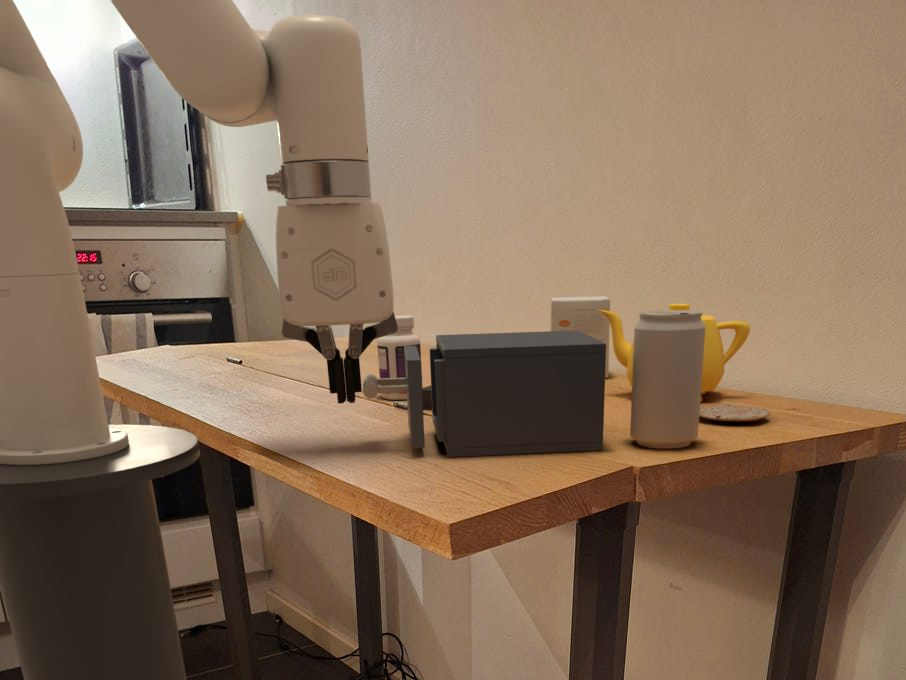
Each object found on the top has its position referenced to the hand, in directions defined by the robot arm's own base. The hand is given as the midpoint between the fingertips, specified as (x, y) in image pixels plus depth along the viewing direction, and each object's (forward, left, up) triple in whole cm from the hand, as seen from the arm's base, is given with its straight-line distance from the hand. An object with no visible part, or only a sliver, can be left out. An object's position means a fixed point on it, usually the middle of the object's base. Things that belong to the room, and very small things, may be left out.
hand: (346, 400), depth 87 cm
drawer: (+9, +5, -4) cm, 11 cm away
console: (+2, +26, -5) cm, 27 cm away
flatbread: (+32, +25, -5) cm, 41 cm away
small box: (+6, +51, -5) cm, 52 cm away
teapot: (+22, +38, -5) cm, 44 cm away
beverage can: (+28, +11, -5) cm, 31 cm away
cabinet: (+14, +8, -5) cm, 17 cm away
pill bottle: (-10, +28, -5) cm, 30 cm away
